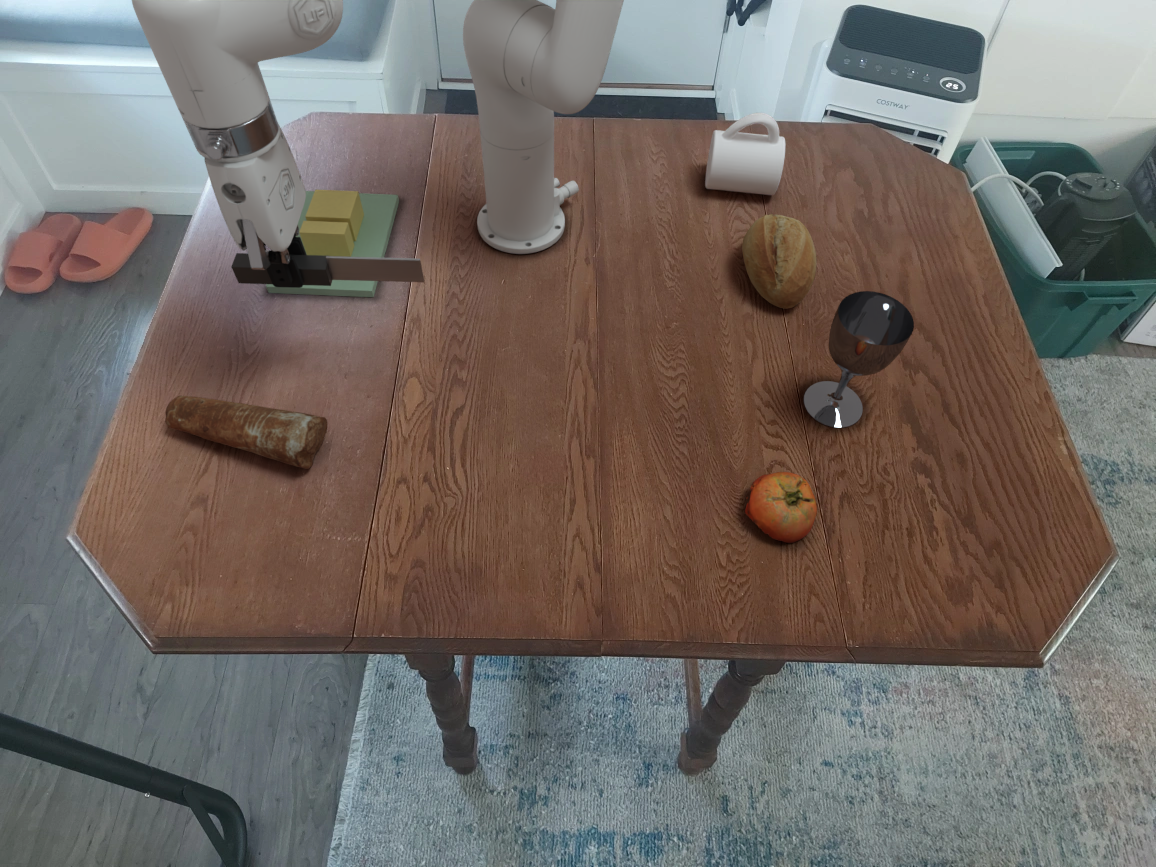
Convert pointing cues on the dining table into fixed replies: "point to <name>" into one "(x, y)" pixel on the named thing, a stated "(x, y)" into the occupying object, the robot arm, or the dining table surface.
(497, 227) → the robot arm
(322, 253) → the butter pat
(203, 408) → the bread
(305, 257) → the knife
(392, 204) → the butter board
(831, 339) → the wine glass
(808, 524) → the tomato
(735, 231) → the dining table surface
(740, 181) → the mug
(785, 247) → the bread roll
